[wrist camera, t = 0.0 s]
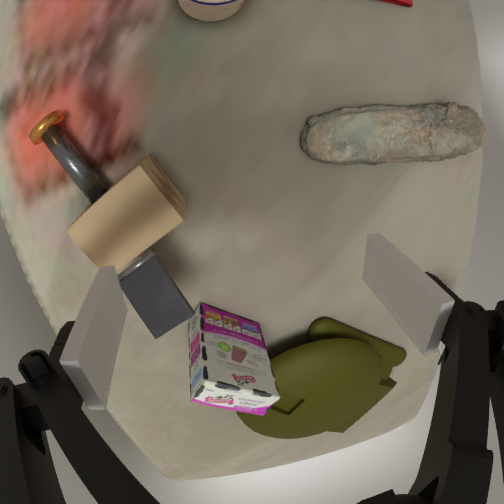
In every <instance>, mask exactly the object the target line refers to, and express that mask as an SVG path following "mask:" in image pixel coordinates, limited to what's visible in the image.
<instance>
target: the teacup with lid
mask: <svg viewBox="0 0 504 504" xmlns="http://www.w3.org/2000/svg"><path fill="white" fill-rule="evenodd" d="M244 1H245V0H178V2H179V5H180V7H181V8H182V10H183V11H184V12H185V13H186V14H188V15H189V16H191V17H193V18H195V19H198V20H201V21H219V20H223V19H226V18H228V17H230V16H232V15H233V14H235V13H236V12H237V11H238V10H239V9H240V8H241V7H242V5H243V3H244Z"/></svg>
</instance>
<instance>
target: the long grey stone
mask: <svg viewBox="0 0 504 504" xmlns="http://www.w3.org/2000/svg"><path fill="white" fill-rule="evenodd" d="M484 139H485V126H484V124H483V122H482V120H481V119H480V118H479V116H478V113H477V112H475V111H474V110H473V109H471V108H469V107H467V106H461V107H460V106H458V104H457V103H455V102H447V103H446V104H442V105H438V104H435V103H433V104H425V105H413V106H412V105H411V106H397V105H389V106H388V105H382V104H378V105H369V106H363V107H360V108H356V107H345V108H342V109H339V110H337V111H336V110H335V111H332V112H330V113H324V114H322V115H320V116H312V117H310V118H309V119H308V124H306V125H305V127H304V128H303V131H302V134H301V146H302V147H301V148H302V149H303V151H305V152H306V153H307V154H308V155H309V156H310V157H311V158H312V159H316V160H319V161H322V162H325V163H327V162H328V163H336V164H342V165H347V164H359V163H365V164H370V165H373V166H374V165H377V164H381V163H386V162H412V161H422V162H424V161H429V162H432V161H437V162H439V161H440V160H441V161H443V160H444V159H446V158H447V159H449V158H450V159H452V158H456V157H457V156H459V155H466V154H467V153H469V152H471V151H474V150H476V149H478V148H479V147H480V146H481V145H482V143H483V142H484Z"/></svg>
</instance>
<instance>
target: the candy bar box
mask: <svg viewBox="0 0 504 504" xmlns="http://www.w3.org/2000/svg"><path fill="white" fill-rule="evenodd" d="M189 360H190V362H189V364H190V392H191V401H192V402H196V403H200V404H205V405H209V406H214V407H219V408H224V409H229V410H234V411H239V412H244V413H250V414H256V415H262V416H263V415H264V414H265V413H266V412H267V411H268V410H269V409H270V408H271V407H272V406H273V405H274V404H275V403H276V402H277V401H278V400H279V399H280V394H279V391H278V387H277V384H276V381H275V377H274V374H273V370H272V367H271V363H270V360H269V357H268V353H267V350H266V346H265V343H264V339H263V335H262V332H261V329H260V325H259V323H257V322H255V321H252V320H249V319H246V318H243V317H240V316H237V315H234V314H231V313H228V312H225V311H222V310H220V309H217V308H214V307H212V306H209V305H206V304H203V303H200V304H199V305H198V307H197V309H196V311H195V315H193V316H192V318H191V319H190V321H189Z"/></svg>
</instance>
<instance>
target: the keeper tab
mask: <svg viewBox="0 0 504 504" xmlns="http://www.w3.org/2000/svg"><path fill="white" fill-rule="evenodd" d="M117 277H118V280H119V284H120V287H121V289H122V290H123V292H124V293H125V295H126V296H127V298H128V299H129V301H130V303H131V304H132V306H133V307H134V309H135V310H136V312H137V313H138V315H139V316H140V318H141V319H142V320H143V322H144V323H145V325H146V326H147V328H148V329H149V331H150V332H151V333H152V335H153V336H154V338H155V339H157V338H158V337H160V336H162V335H163V334H165V333H166V332H168V331H170V330H171V329H173V328H174V327H176V326H178V325H179V324H181V323H182V322H184V321H185V320H187V319H189V318H190V317H192V316H193V315H195V311H194V310H193V309H192V307H191V306H190V304H189V303H188V301H187V300H186V298H185V297H184V295H183V294H182V293H181V291H180V290H179V288H178V287H177V285H176V284H175V282H174V281H173V279H172V278H171V276H170V275H169V273H168V272H167V270H166V269H165V267H164V265H163V264H162V262H161V261H160V259H159V258H158V256H157V255H156V252H155V251H154V250H153V249H151V250H150V251H148V252H147V253H146V254H144V255H143V256H142V257H140V258H139V259H138V260H137V261H135V262H134V263H133V264H131V265H130V266H129V267H127V268H126V269H125V270H124V271H122V272H121V273H120V274H119V275H117Z"/></svg>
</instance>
